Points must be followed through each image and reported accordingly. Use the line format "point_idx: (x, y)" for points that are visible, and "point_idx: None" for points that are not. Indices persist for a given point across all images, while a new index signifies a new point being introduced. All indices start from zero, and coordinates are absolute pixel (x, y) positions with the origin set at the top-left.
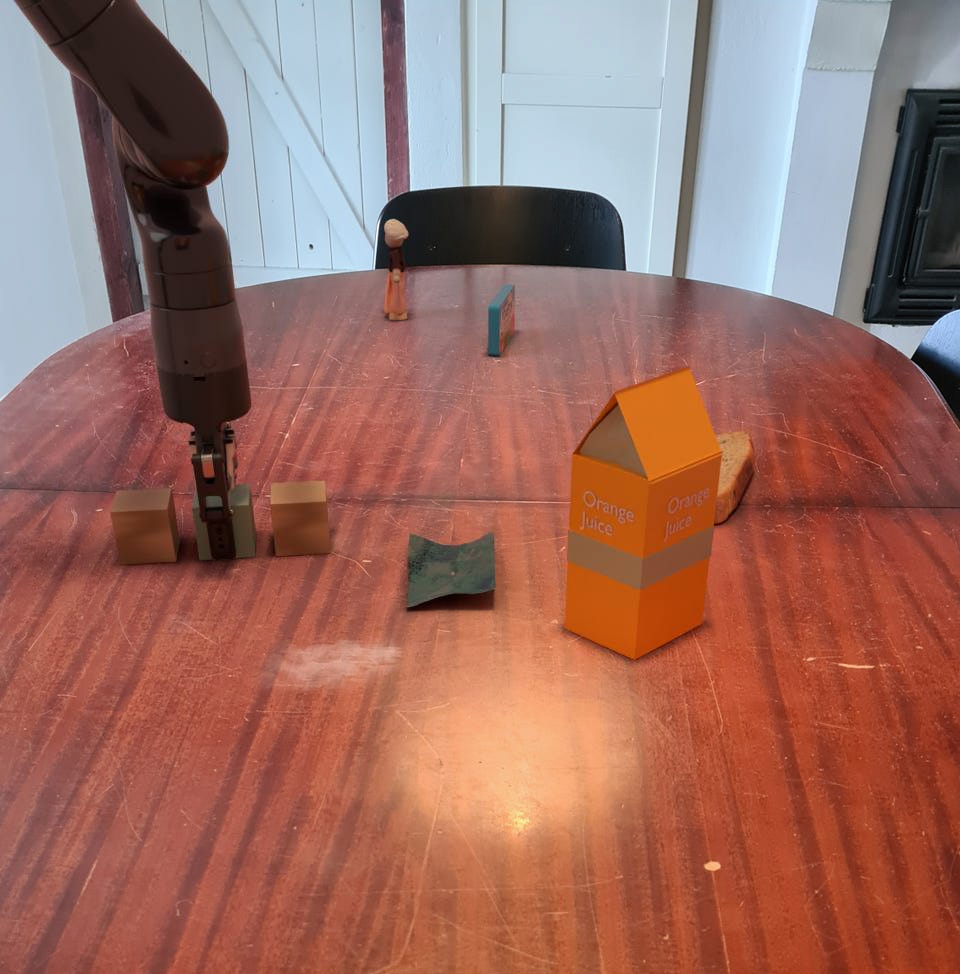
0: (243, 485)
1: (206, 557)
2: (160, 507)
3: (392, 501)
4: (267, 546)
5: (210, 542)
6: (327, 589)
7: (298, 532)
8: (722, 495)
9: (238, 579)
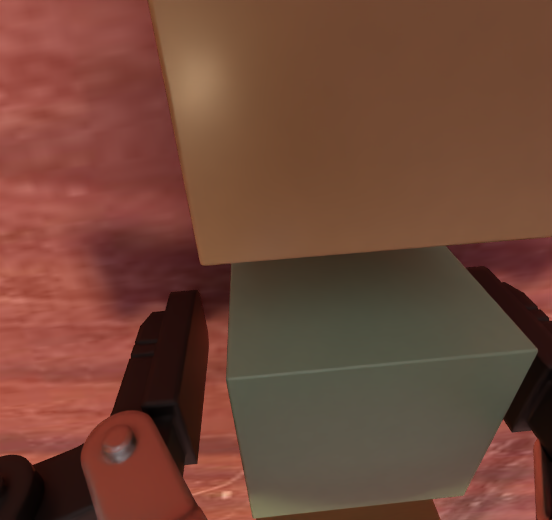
0: (454, 486)
1: None
2: (226, 219)
3: (476, 495)
4: None
5: (160, 333)
6: None
7: None
8: None
9: (108, 335)
